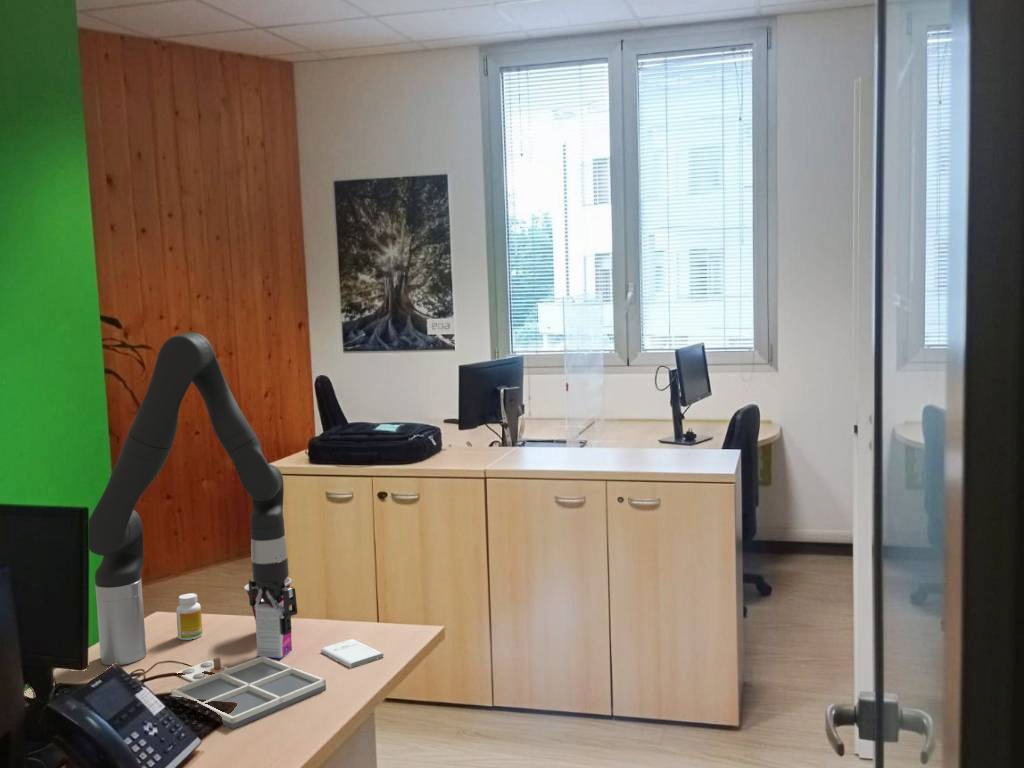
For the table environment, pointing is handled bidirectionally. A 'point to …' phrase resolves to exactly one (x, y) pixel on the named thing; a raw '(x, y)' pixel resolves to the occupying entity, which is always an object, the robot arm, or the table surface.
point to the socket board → (253, 689)
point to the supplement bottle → (189, 617)
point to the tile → (202, 670)
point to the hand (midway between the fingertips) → (274, 630)
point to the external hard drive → (351, 653)
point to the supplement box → (271, 633)
